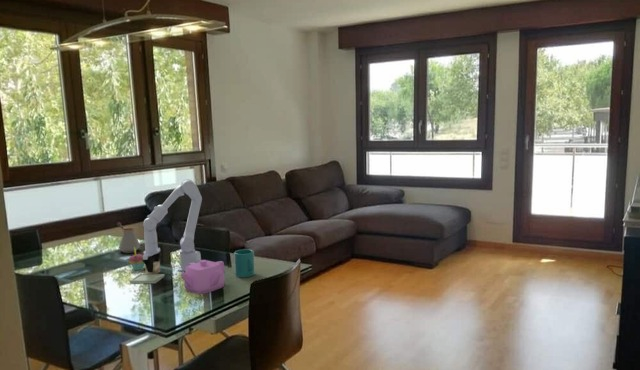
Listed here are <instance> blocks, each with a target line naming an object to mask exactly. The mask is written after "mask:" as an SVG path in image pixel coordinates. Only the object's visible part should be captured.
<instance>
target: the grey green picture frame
mask: <svg viewBox="0 0 640 370" xmlns="http://www.w3.org/2000/svg"><path fill="white" fill-rule="evenodd" d="M165 277H166V275H165V273H157V274H146V273H140V274H139V273H138V275H136V276H135V277H133V278H131V279H130V280H129V283H130V284H157V283H158V282H159V281H161V280H162V279H163V278H165Z"/></svg>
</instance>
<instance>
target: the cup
mask: <svg viewBox="0 0 640 370" xmlns="http://www.w3.org/2000/svg"><path fill="white" fill-rule="evenodd" d="M233 255H234V257H233V258H234V271H235V272H234V274H235V276H236V277H237V278H242V279H244V278H251V277H253V276H254V275H256V270H255V269H256V268H255V267H256V266H255V252H254V250H253V249H245V248H243V249H238V250H235V251H234V252H233Z"/></svg>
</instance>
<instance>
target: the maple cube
mask: <svg viewBox="0 0 640 370" xmlns="http://www.w3.org/2000/svg"><path fill="white" fill-rule="evenodd" d="M144 269H145V270H144V271H145V274H160V272H161V263H160V261H159V262H156V261H154V263H153V272H148V271H147V268H146V265H145V264H144Z"/></svg>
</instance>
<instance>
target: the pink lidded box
mask: <svg viewBox="0 0 640 370" xmlns="http://www.w3.org/2000/svg"><path fill="white" fill-rule="evenodd" d="M225 273H226V270H225V263H224V261H222V260H219V261H211V260H207V259H201V261H199V263H189V266H187V267H186V269H185V271H184V272H182V273H180V277H181V278H182V280H183V285H184V289H185V291H187V292H189V291H190V293H192V294H196V295H200V296H201V295H204V294H205V295H206V294H208V293H211V292H214V291H215V292H216V290H217V291H218V290H219V289H221V288H224V285H225V275H224V274H225Z"/></svg>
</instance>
